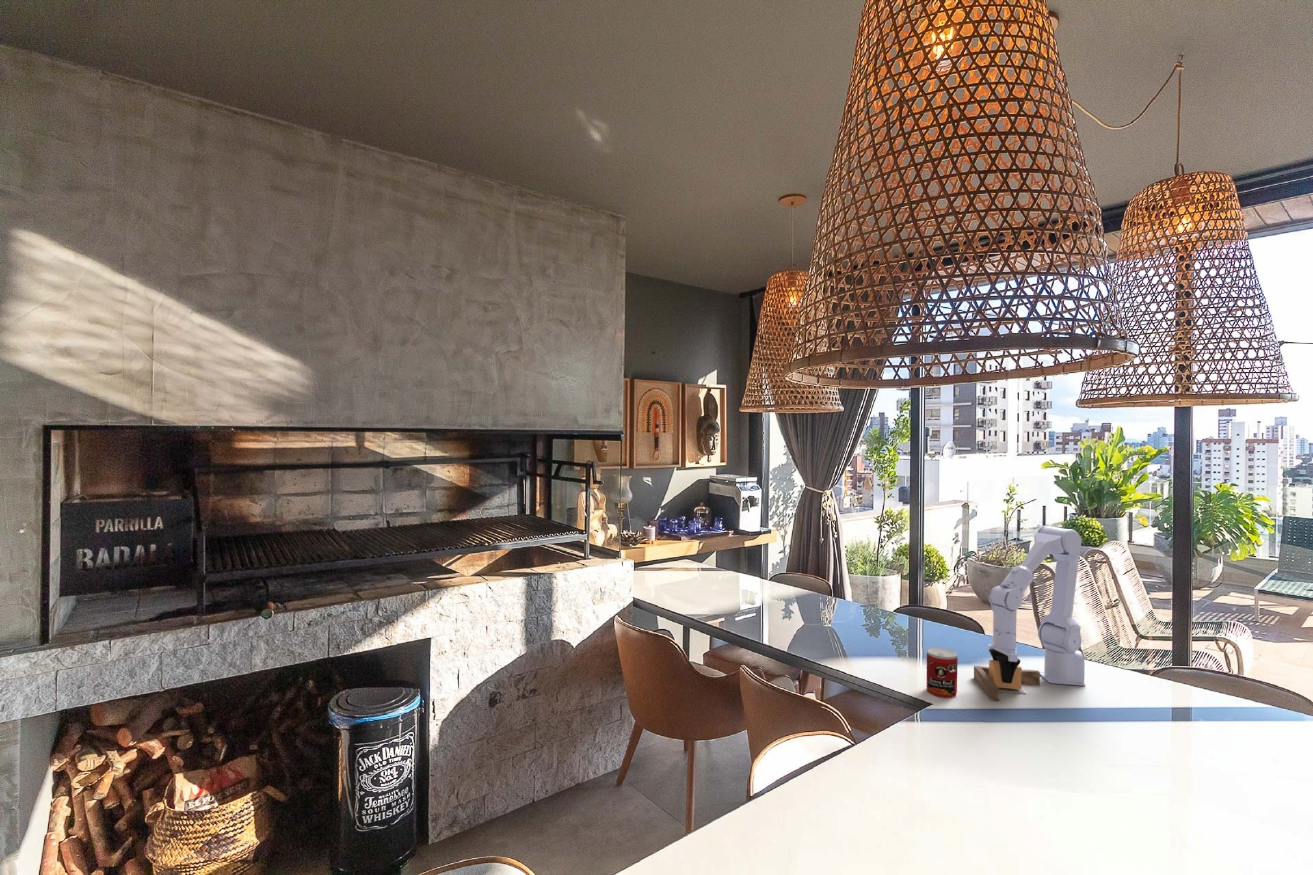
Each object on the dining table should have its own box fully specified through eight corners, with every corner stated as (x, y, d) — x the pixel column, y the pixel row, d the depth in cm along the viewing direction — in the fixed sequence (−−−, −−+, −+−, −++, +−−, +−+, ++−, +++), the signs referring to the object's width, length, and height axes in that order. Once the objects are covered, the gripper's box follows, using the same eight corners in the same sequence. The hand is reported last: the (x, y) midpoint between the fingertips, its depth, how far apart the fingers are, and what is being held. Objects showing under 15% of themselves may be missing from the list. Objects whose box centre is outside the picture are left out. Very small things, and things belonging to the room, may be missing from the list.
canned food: (924, 694, 177) (925, 653, 177) (927, 685, 184) (928, 645, 184) (956, 700, 174) (956, 658, 174) (957, 690, 181) (958, 650, 181)
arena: (1037, 682, 188) (1037, 670, 188) (1062, 706, 171) (1063, 692, 171) (973, 677, 191) (974, 665, 191) (992, 700, 174) (992, 687, 174)
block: (988, 680, 186) (989, 659, 186) (1015, 683, 185) (1016, 662, 185) (993, 686, 182) (993, 665, 182) (1021, 689, 180) (1021, 667, 180)
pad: (1015, 682, 187) (1015, 682, 187) (1025, 694, 179) (1025, 693, 179) (981, 680, 189) (981, 680, 189) (991, 691, 180) (991, 690, 180)
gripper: (981, 622, 191) (980, 669, 191) (997, 637, 177) (996, 687, 177) (1007, 624, 190) (1006, 671, 190) (1026, 638, 175) (1025, 689, 175)
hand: (1003, 679), depth 183 cm, fingers closed on block, 4 cm apart
